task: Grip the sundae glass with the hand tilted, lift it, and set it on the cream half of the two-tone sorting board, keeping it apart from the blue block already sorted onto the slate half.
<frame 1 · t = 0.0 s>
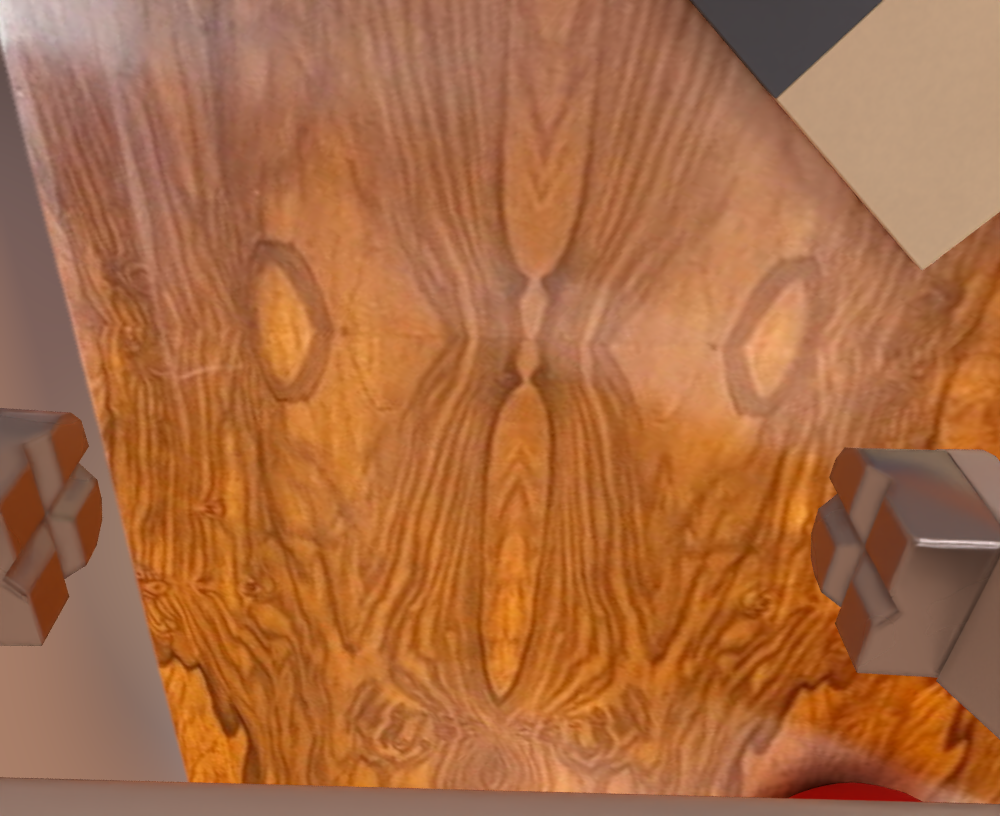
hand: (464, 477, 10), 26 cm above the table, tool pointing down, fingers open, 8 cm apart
tomato: (839, 790, 58), on the table
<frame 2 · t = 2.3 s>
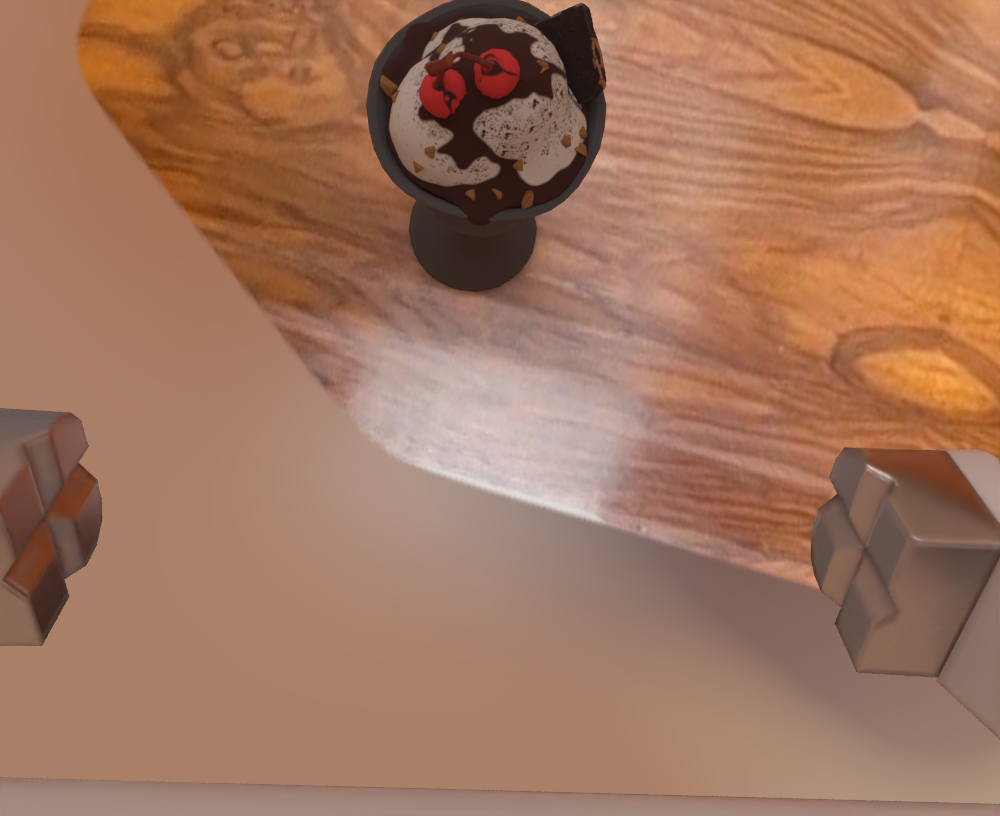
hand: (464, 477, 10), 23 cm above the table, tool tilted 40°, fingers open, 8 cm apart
sundae: (472, 233, 34), on the table
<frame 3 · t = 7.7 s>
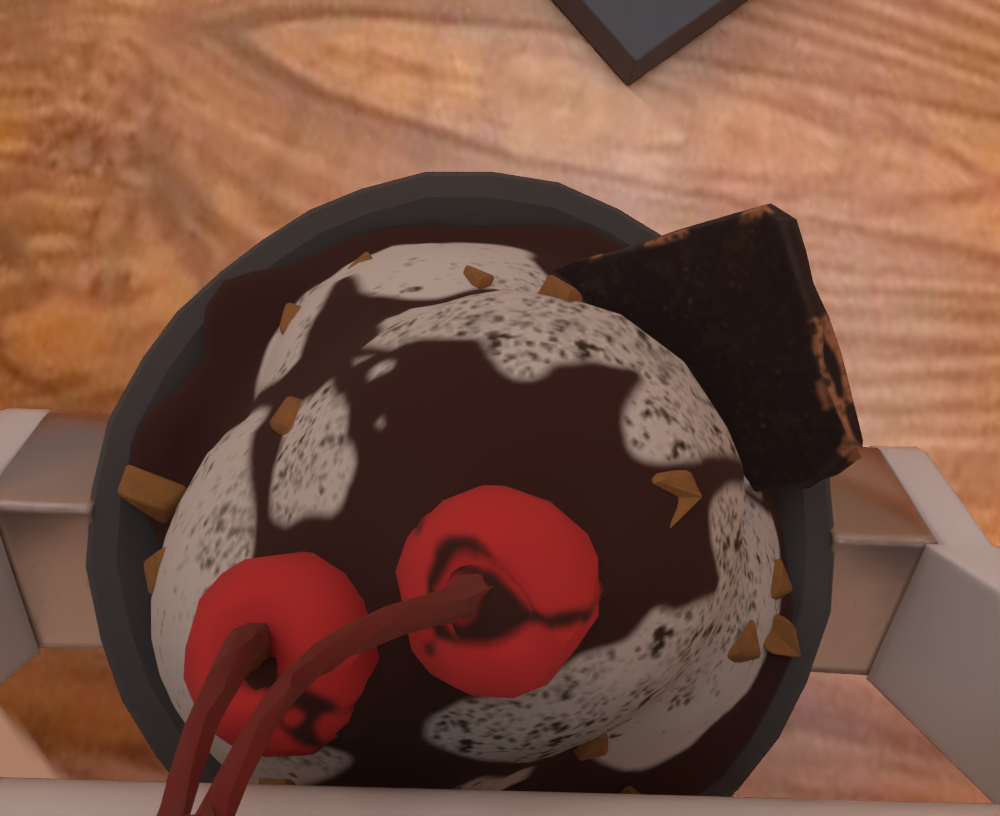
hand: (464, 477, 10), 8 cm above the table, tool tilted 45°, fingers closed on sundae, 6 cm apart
sundae: (460, 557, 18), on the table, touching gripper
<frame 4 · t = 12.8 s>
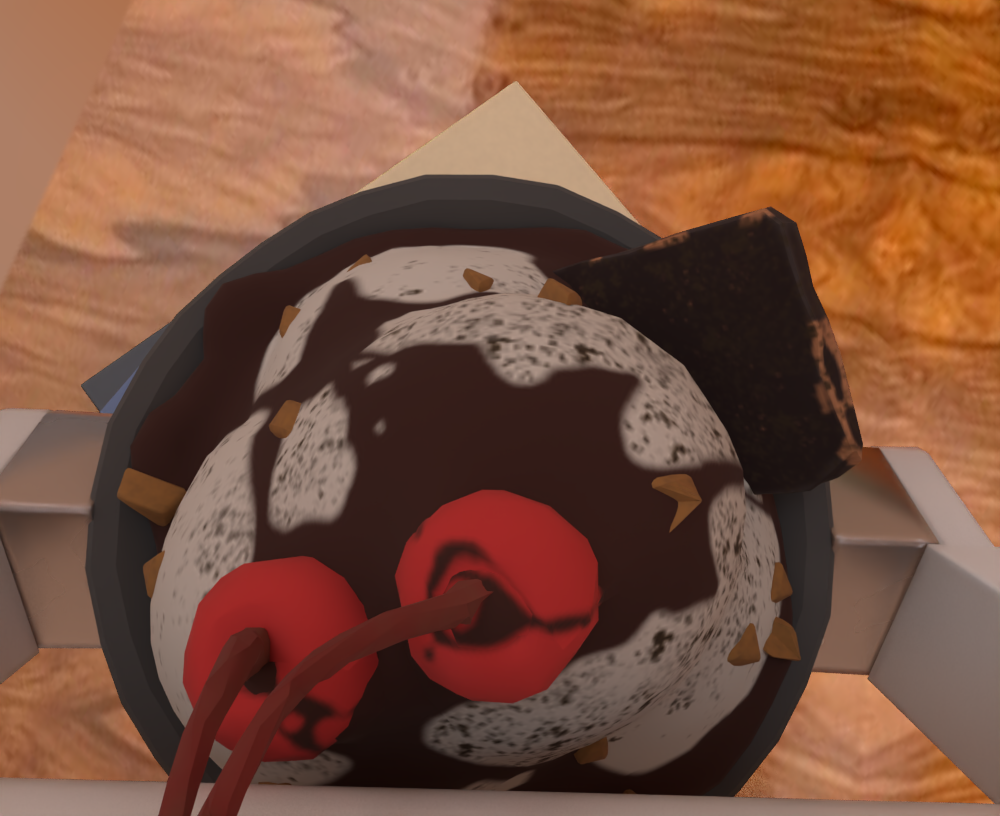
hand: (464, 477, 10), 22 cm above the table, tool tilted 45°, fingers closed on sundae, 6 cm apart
blue block: (255, 425, 31), point 1 cm above the table, touching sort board
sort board: (440, 394, 33), on the table
sundae: (460, 558, 18), point 14 cm above the table, touching gripper
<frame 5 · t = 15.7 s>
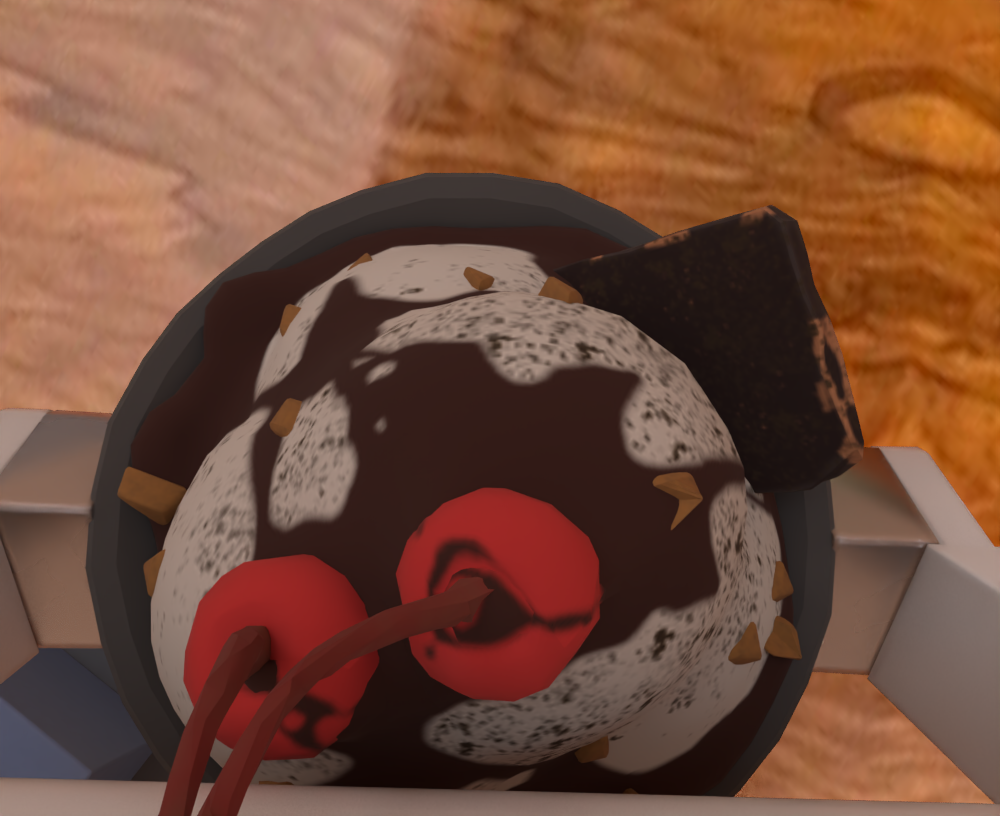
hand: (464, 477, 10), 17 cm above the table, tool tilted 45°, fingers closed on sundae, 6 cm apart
blue block: (33, 754, 23), point 1 cm above the table, touching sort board
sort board: (290, 694, 25), on the table
sundae: (461, 558, 18), point 8 cm above the table, touching gripper
when the fingers open (9 cm above the table, at t = 18.3 s): sundae stays where it is, resting on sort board.
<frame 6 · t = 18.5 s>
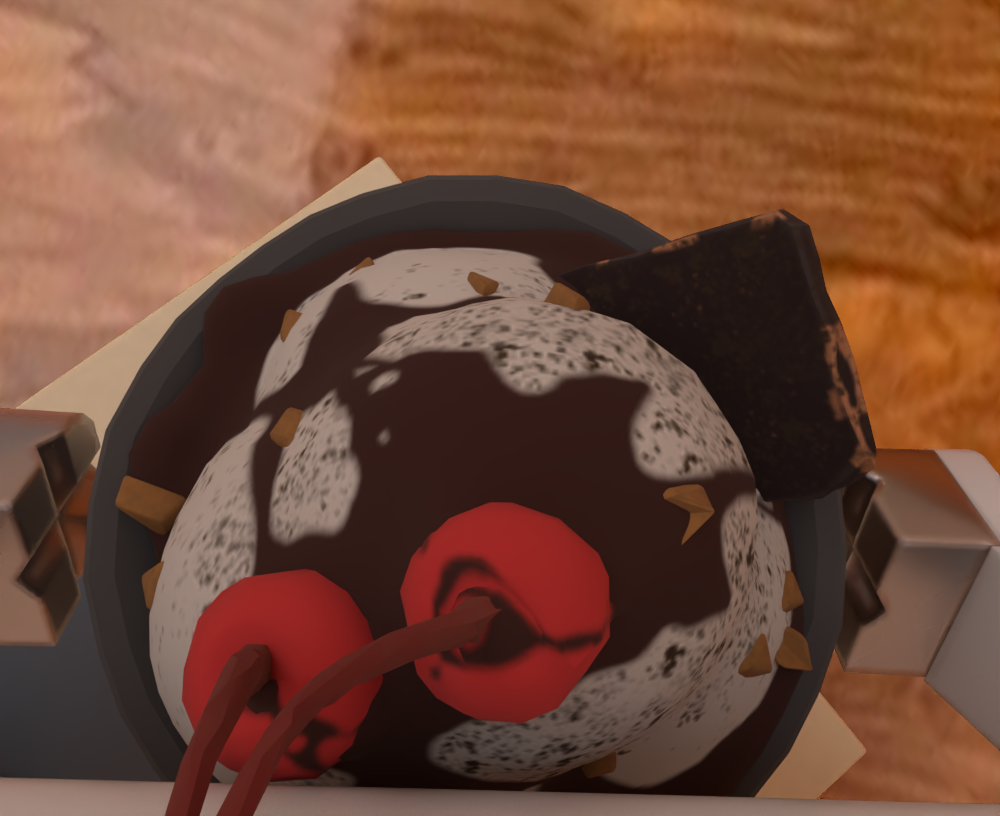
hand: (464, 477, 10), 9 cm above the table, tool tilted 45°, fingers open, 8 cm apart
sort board: (225, 746, 18), on the table
sundae: (463, 561, 18), point 1 cm above the table, touching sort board
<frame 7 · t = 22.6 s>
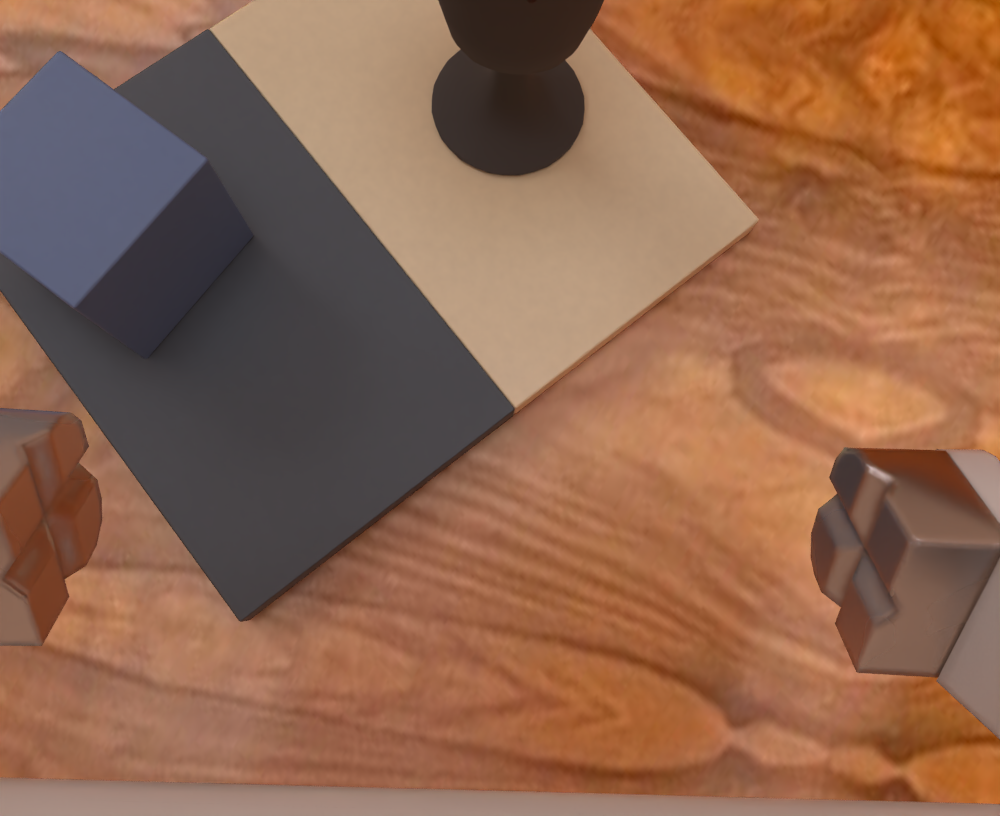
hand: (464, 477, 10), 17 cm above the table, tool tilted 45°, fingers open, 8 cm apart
blue block: (138, 249, 27), point 1 cm above the table, touching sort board
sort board: (359, 224, 28), on the table
sundae: (507, 110, 28), point 1 cm above the table, touching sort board
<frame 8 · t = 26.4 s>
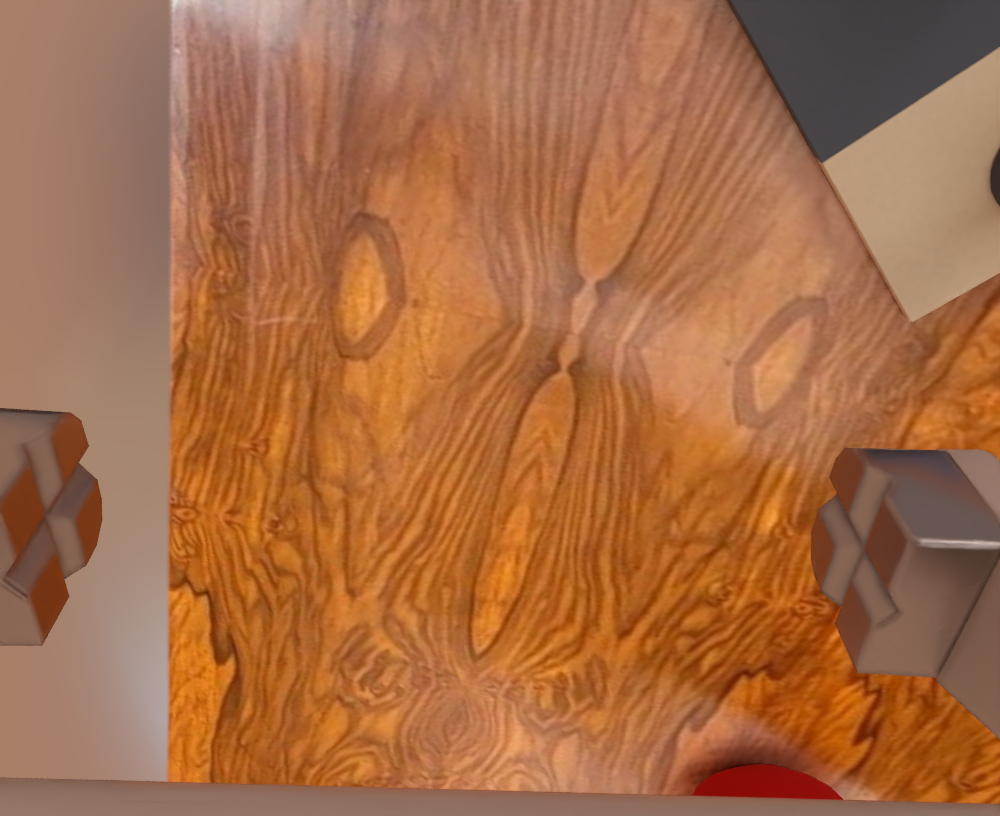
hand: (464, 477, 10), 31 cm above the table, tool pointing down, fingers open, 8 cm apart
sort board: (989, 41, 36), on the table
tomato: (756, 772, 65), on the table
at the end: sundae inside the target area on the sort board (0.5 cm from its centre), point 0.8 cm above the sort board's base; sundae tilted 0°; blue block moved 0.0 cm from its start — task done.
